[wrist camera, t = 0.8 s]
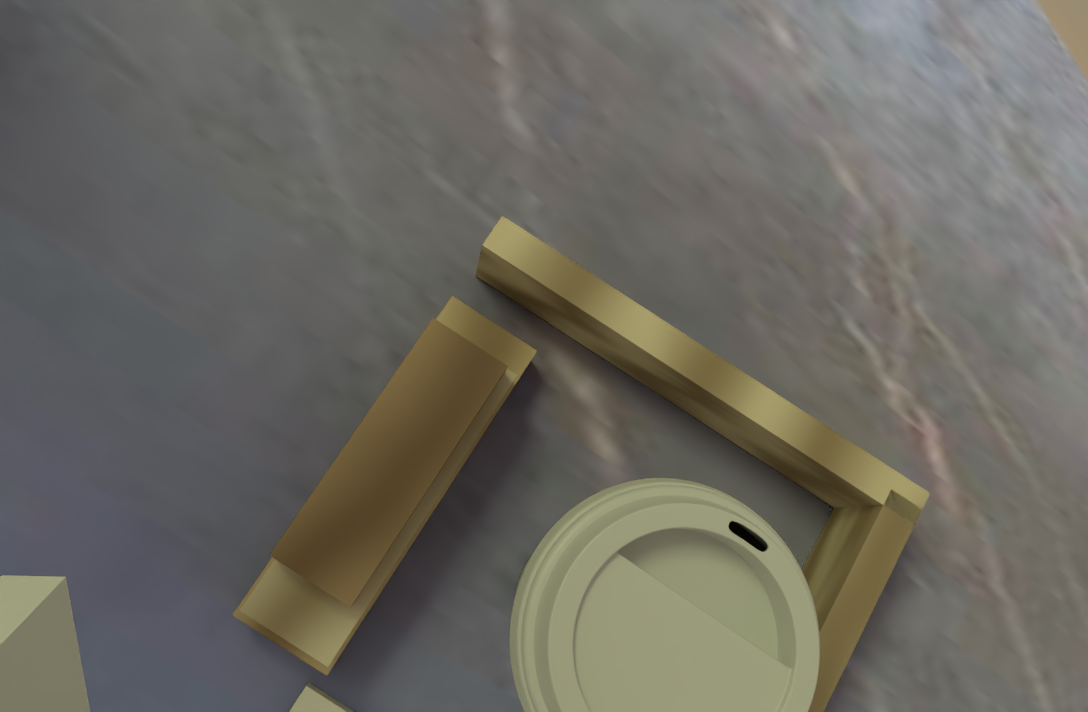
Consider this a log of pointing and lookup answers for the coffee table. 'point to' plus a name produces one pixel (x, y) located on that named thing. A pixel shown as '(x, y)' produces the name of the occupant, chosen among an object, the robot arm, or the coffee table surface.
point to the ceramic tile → (317, 702)
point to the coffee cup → (663, 608)
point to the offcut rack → (733, 431)
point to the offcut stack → (384, 486)
